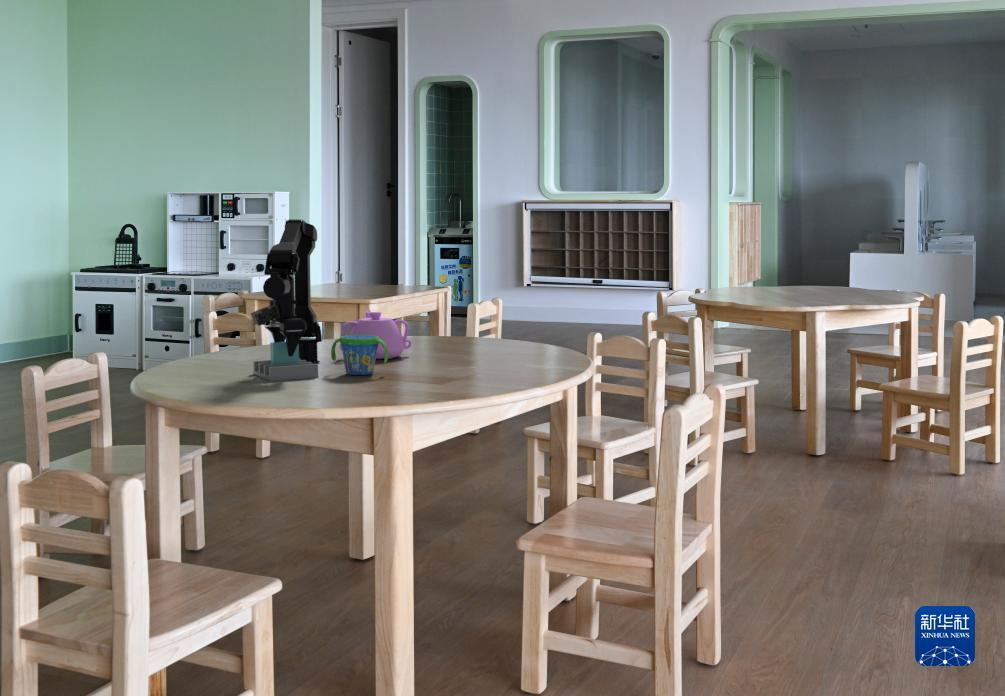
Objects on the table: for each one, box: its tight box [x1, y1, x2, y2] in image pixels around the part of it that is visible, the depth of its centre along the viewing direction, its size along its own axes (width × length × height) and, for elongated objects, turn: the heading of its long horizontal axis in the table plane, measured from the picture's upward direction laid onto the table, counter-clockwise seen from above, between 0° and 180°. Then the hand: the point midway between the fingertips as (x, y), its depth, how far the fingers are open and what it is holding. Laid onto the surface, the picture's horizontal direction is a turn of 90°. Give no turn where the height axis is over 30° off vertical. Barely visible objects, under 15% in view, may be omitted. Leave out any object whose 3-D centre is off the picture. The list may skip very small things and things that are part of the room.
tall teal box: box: [269, 341, 299, 365], centre depth 291 cm, size 7×2×8 cm, turn 120°
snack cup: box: [330, 334, 389, 376], centre depth 294 cm, size 16×10×10 cm
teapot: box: [339, 309, 413, 360], centre depth 330 cm, size 22×22×14 cm
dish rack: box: [252, 358, 319, 382], centre depth 291 cm, size 13×15×4 cm
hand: (284, 354), depth 291 cm, fingers open, 9 cm apart
